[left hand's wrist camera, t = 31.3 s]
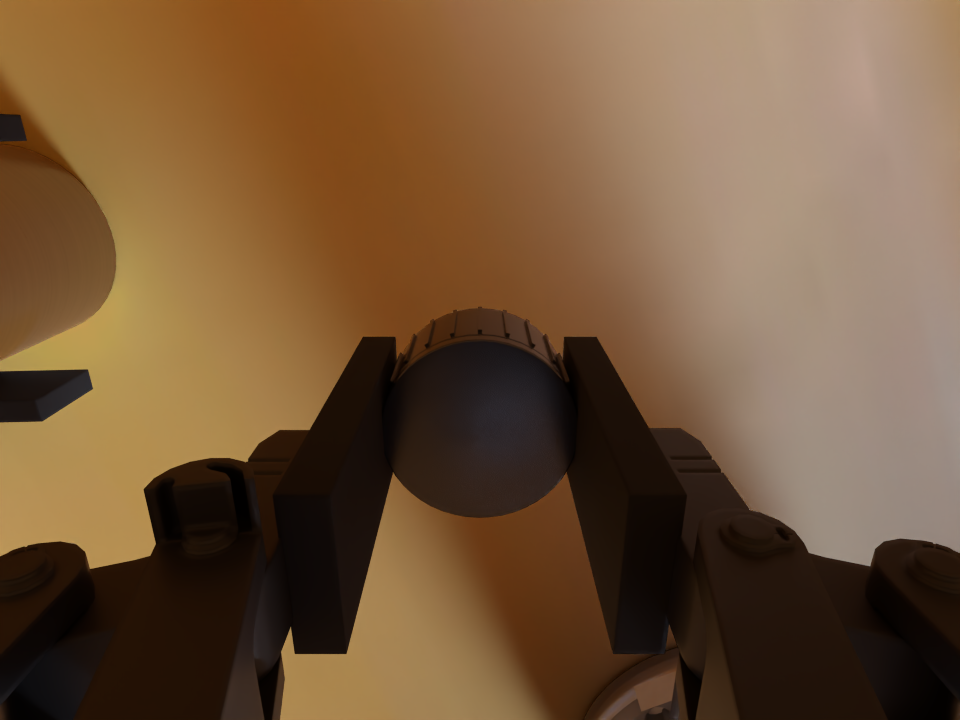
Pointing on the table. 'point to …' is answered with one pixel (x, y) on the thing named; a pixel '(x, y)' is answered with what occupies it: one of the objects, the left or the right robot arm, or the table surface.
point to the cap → (479, 414)
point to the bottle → (48, 251)
